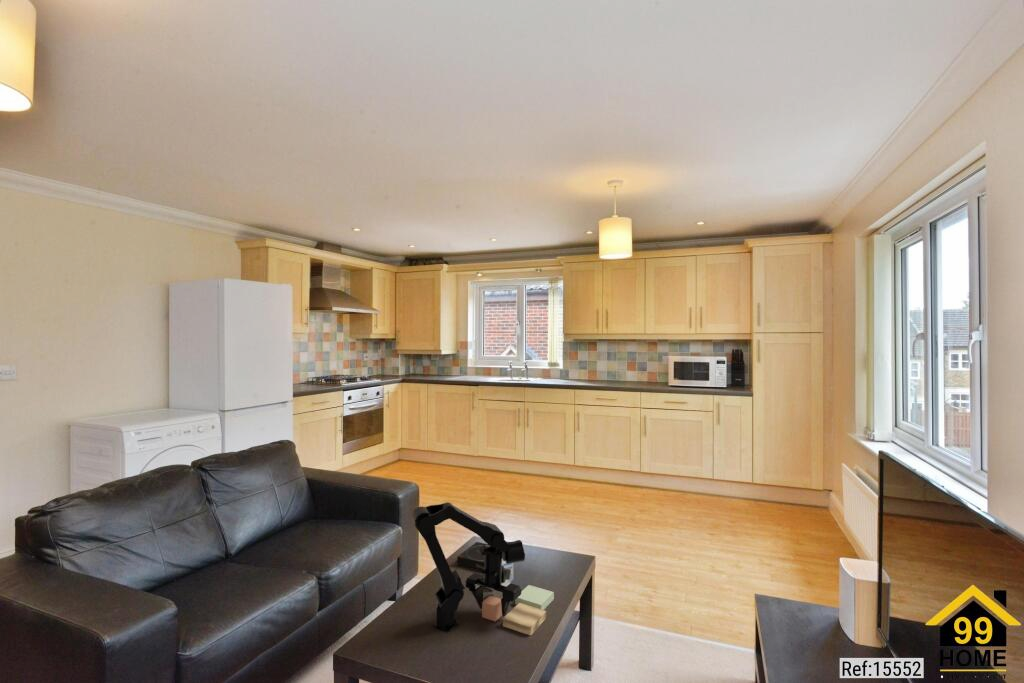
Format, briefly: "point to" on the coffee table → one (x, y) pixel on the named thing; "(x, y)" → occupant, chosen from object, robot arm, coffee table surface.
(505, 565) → the medicine box
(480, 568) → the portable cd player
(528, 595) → the green slab
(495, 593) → the grey block
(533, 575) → the coffee table surface
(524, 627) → the oak slab
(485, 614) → the terracotta block
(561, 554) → the coffee table surface
